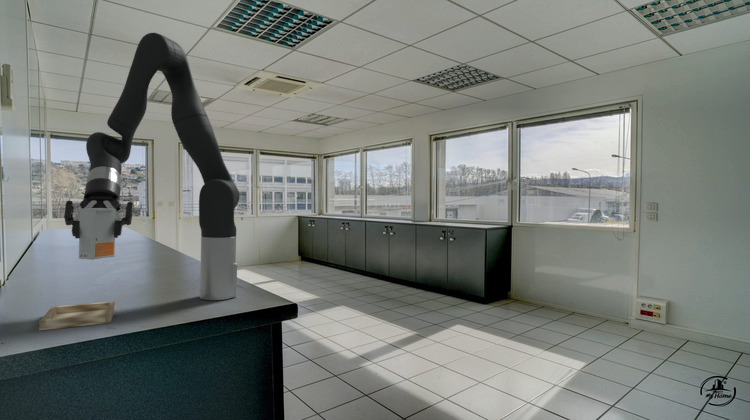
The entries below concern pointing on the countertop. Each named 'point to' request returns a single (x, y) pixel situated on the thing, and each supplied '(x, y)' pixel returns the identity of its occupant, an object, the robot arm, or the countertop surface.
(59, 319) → the holder
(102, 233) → the skincare box
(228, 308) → the countertop surface
